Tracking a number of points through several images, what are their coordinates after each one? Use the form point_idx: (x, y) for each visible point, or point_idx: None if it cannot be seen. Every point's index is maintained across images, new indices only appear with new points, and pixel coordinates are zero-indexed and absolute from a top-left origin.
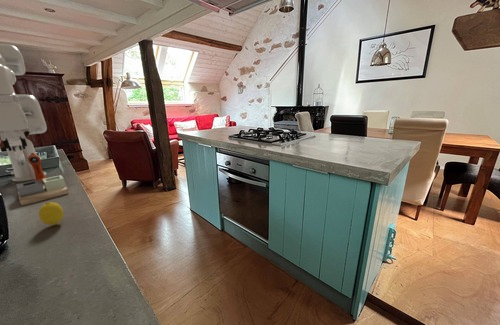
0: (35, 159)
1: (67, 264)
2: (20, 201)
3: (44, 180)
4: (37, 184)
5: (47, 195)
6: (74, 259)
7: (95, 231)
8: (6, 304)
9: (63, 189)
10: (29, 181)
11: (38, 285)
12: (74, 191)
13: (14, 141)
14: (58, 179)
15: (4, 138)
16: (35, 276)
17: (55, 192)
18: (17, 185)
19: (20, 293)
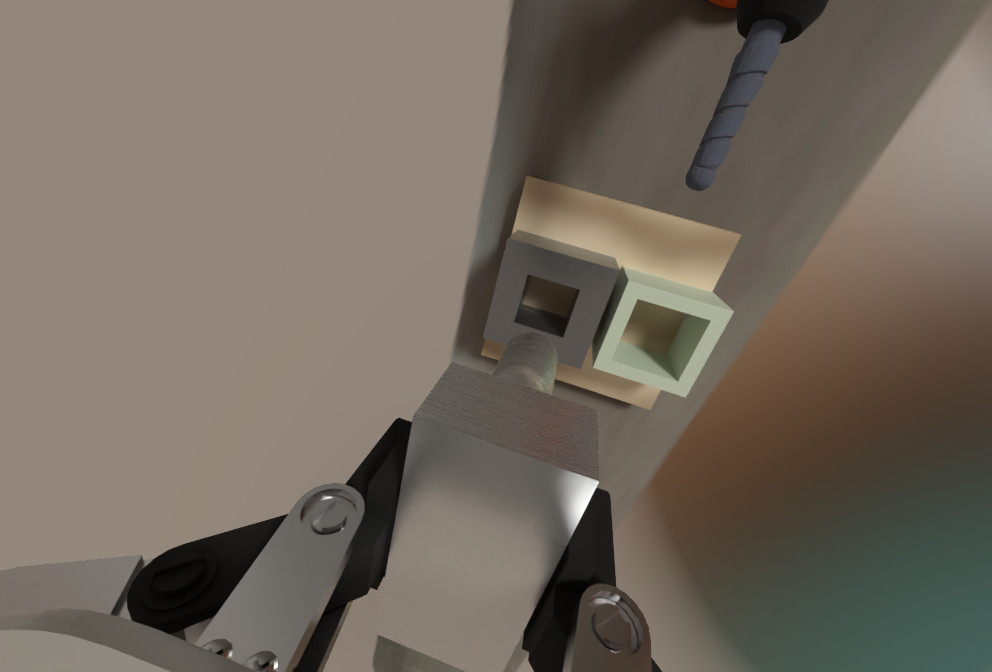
0: (755, 94)
1: (440, 666)
2: (482, 353)
3: (614, 330)
4: (560, 362)
5: (570, 380)
6: (451, 668)
7: (513, 651)
8: (375, 655)
9: (638, 396)
10: (567, 254)
11: (404, 662)
12: (674, 396)
13: (437, 640)
14: (659, 387)
15: (334, 607)
16: (406, 648)
17: (601, 392)
18: (501, 275)
19: (388, 655)
